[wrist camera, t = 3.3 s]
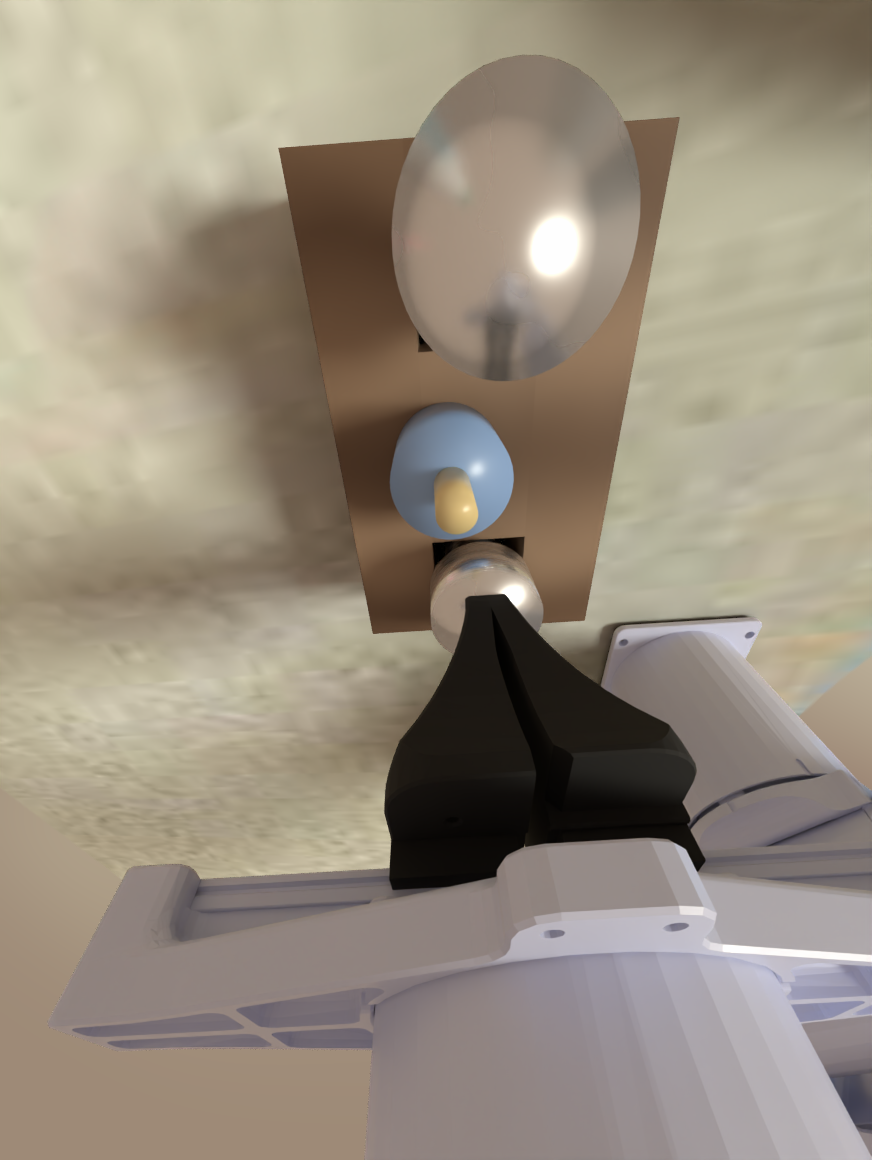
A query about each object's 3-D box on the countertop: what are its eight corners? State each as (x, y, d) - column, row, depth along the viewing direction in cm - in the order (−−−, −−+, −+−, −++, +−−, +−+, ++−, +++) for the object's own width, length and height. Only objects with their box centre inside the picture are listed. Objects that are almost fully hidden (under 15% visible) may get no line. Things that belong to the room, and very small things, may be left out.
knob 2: (509, 571, 19) (538, 656, 15) (431, 576, 19) (434, 663, 15) (513, 497, 17) (548, 568, 12) (425, 502, 17) (426, 576, 12)
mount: (558, 569, 20) (584, 620, 17) (381, 581, 20) (372, 633, 17) (610, 170, 12) (679, 117, 9) (317, 192, 12) (278, 148, 9)
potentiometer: (498, 503, 14) (525, 571, 10) (401, 510, 14) (393, 580, 10) (501, 398, 12) (535, 435, 8) (388, 405, 12) (373, 446, 8)
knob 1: (537, 349, 12) (614, 373, 7) (412, 357, 12) (405, 388, 7) (550, 174, 10) (670, 42, 5) (398, 184, 10) (374, 66, 5)
